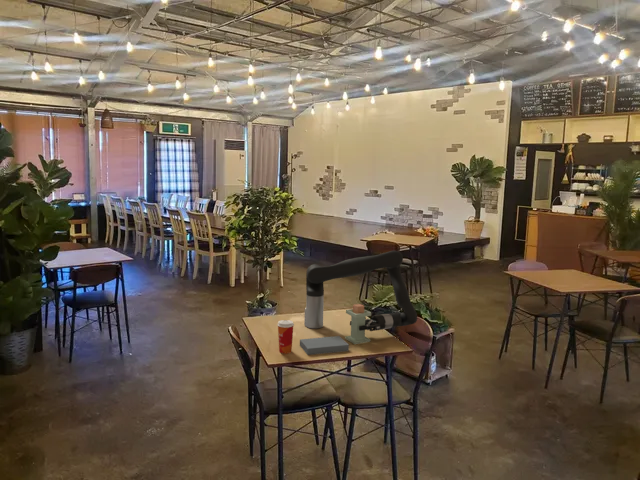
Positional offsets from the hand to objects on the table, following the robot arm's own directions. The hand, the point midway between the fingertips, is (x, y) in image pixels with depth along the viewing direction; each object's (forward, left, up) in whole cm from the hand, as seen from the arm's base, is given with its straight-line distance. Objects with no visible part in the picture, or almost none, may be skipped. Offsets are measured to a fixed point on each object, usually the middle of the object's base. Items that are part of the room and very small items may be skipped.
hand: (354, 325), depth 248 cm
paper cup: (-16, -33, -8) cm, 38 cm away
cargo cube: (+1, +2, +6) cm, 6 cm away
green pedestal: (+1, +2, -8) cm, 8 cm away
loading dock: (-5, -18, -8) cm, 20 cm away
